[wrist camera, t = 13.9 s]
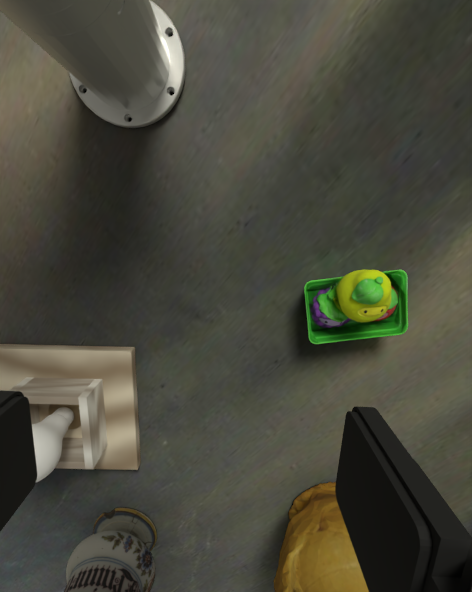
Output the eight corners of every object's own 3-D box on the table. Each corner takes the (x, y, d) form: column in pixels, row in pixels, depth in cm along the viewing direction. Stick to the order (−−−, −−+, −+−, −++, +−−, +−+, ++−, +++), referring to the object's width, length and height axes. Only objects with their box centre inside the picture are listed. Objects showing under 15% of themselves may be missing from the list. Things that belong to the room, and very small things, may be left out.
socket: (0, 343, 43) (-38, 363, 37) (134, 347, 43) (118, 367, 37) (17, 459, 47) (-14, 493, 41) (140, 462, 47) (127, 496, 41)
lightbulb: (100, 414, 43) (54, 479, 32) (68, 439, 44) (13, 510, 33) (67, 382, 42) (8, 438, 31) (35, 409, 43) (-32, 471, 32)
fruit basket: (301, 331, 42) (323, 370, 31) (294, 265, 40) (316, 281, 29) (388, 320, 42) (441, 356, 31) (386, 253, 40) (443, 265, 29)
